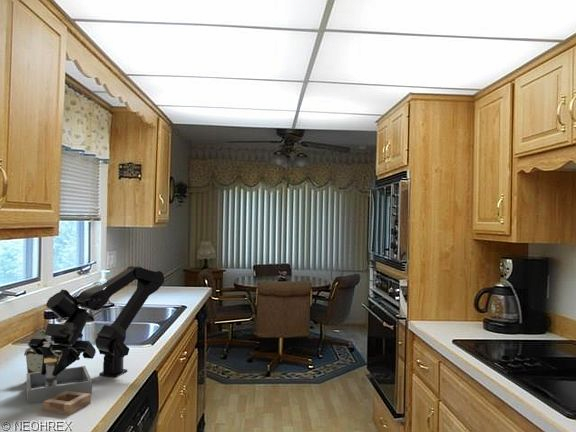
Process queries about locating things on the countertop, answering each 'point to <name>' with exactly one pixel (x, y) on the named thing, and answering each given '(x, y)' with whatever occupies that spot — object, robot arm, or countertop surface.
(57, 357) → the pin
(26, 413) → the countertop surface
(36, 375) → the tray
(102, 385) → the countertop surface
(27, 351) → the food container
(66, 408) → the socket block
